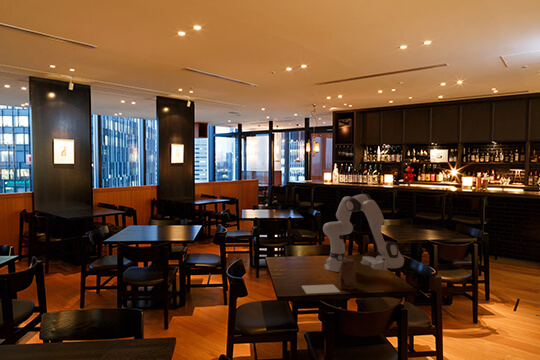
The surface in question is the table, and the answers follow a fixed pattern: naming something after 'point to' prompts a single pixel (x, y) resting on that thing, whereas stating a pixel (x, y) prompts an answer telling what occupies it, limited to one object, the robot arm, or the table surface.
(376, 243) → the robot arm
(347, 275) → the block
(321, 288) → the mat
